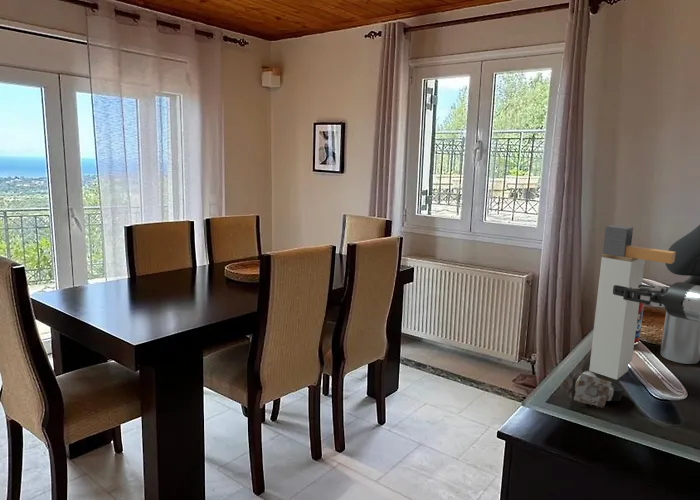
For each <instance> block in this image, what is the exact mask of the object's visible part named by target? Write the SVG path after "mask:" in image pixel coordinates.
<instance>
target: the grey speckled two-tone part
mask: <svg viewBox="0 0 700 500" xmlns="http://www.w3.org/2000/svg"><path fill="white" fill-rule="evenodd" d="M595 374H596V373H595V372H592V371H589V370H585V371H584V372H582V373H581V374H580V375H579V377H578V378H577V380H576V381H575V384H574V385H575V386H574V390H575V393H574V397H573V401H576V402H579V403H583V404H586V405H588V404H589V406H592V405H595V406H604V407H605V405H606V402H611V401H613V402H620V401H621V399H622V398H623V394H624V388H622V387H621V386H619V385H618V384H615V383H614V382H612V381H610V380H606V379H603V378H601V377H598V376H597V375H595ZM595 406H594V407H595Z"/></svg>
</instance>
